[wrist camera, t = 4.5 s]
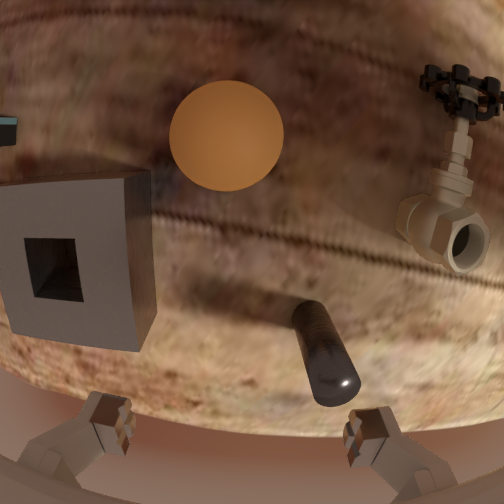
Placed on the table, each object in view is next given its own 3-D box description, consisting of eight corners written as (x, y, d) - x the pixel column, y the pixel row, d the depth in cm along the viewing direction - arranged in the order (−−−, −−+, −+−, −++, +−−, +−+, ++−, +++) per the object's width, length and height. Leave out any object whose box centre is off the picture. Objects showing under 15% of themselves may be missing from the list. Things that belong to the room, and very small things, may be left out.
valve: (440, 253, 22) (471, 105, 18) (492, 286, 16) (530, 102, 12) (369, 237, 21) (402, 73, 18) (414, 273, 15) (456, 53, 12)
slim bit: (329, 300, 23) (365, 369, 15) (324, 331, 23) (354, 404, 16) (293, 300, 23) (317, 372, 15) (290, 332, 23) (309, 408, 16)
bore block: (150, 170, 19) (123, 178, 15) (157, 312, 22) (139, 352, 18) (27, 177, 19) (-15, 188, 14) (44, 302, 22) (12, 333, 17)
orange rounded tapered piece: (272, 101, 18) (286, 83, 13) (269, 180, 20) (280, 193, 14) (191, 99, 18) (171, 81, 12) (188, 178, 20) (168, 190, 14)
